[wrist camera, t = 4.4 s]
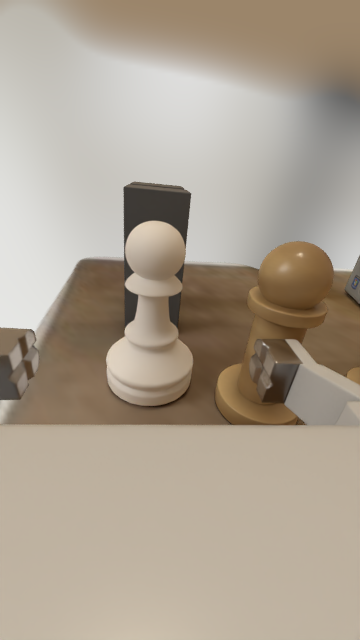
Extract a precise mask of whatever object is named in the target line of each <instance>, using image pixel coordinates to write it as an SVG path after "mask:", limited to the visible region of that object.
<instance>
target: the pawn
mask: <svg viewBox="0 0 360 640" xmlns="http://www.w3.org/2000/svg"><path fill="white" fill-rule="evenodd" d="M333 278H334V270H333V266H332V263H331V261H330V259H329V257H328V255H327V254H326V253H325V252H324V251H323V250H322V249H320V248H319V247H317V246H316V245H314V244H311V243H307V242H300V241H296V242H289V243H285V244H283V245H280V246H279V247H277V248H275V249H274V250H272V251H271V252H270V253H269V254H268V255H267V256H266V257H265V259H264V260H263V262H262V264H261V266H260V269H259V273H258V285H259V286H256V287H253V288H252V289H251V290H250V292H249V295H248V299H247V305H248V307H249V309H250V310H251V311H252V312H253V313H254V314H255V316H254V320H253V324H252V328H251V332H250V336H249V339H248V343H247V347H246V351H245V355H244V359H243V363H242V364H236V365H232V366H229V367H227V368H226V369H224V370H223V371H222V372H221V374H220V375H219V377H218V381H217V385H216V390H215V401H216V404H217V407H218V409H219V411H220V412H221V414H222V415H223V416H224V417H225V418H226V419H227V420H228V421H229V422H230V423H231V424H233V425H296V422H297V420H298V418H299V417H298V416H296V415H295V414H294V413H293V412H292V411H291V410H290V409H289V408H287V407H286V406H285V405H284V403H262V402H261V399H260V397H259V395H258V393H257V391H256V387H257V384H256V383H254V382H253V381H252V380H251V377H250V373H249V363H250V358H251V357H252V356H253V355H254V354H255V353H256V352H255V350H254V348H253V347H254V344H255V341H256V340H257V339H295V340H298V341H299V343H300V344H302V341H303V339H304V336H305V333H306V331H307V328H314V327H317V326H319V325H321V324H322V323H323V321H324V319H325V316H326V314H327V311H328V309H327V306H326V304H325V303H324V302H323V301H322V300H323V299H324V298H325V297H326V296H327V294H328V293H329V291H330V289H331V287H332V284H333Z"/></svg>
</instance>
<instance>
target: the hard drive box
mask: <svg viewBox="0 0 360 640" xmlns="http://www.w3.org/2000/svg"><path fill="white" fill-rule="evenodd" d="M345 291H347V292H348V293H349V294H350V295H351V296H352V297H353V298H354V299H355V300H356V301H357V302H358V303H359V304H360V256H359V258H358V260H357V263H356V265H355V267H354V269H353V272H352V274H351V276H350V278H349V280H348V282H347V285H346V287H345Z"/></svg>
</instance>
